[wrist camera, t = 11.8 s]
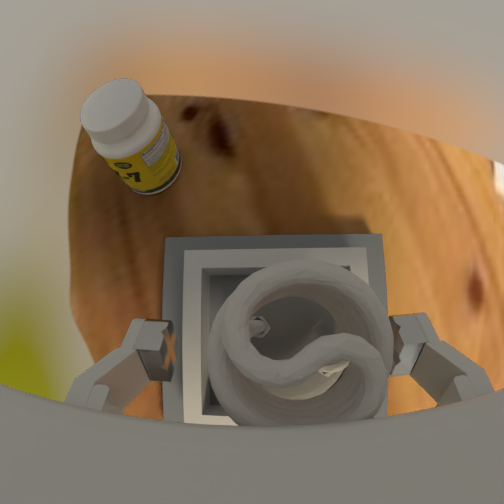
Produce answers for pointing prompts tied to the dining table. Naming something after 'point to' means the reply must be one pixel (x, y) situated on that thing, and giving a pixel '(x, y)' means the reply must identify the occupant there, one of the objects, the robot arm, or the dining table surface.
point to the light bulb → (300, 347)
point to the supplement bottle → (131, 136)
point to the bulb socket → (224, 284)
